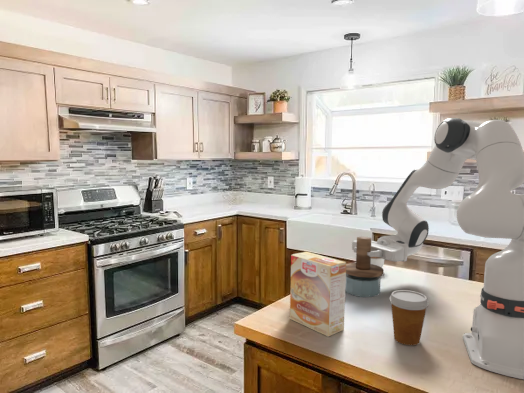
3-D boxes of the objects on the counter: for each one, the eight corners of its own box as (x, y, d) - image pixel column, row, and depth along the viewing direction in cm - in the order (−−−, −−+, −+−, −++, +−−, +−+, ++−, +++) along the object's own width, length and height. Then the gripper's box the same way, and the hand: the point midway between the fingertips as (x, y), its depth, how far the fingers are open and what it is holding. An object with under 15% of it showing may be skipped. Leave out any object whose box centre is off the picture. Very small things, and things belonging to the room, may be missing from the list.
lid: (385, 278, 130) (386, 243, 128) (342, 275, 133) (343, 241, 131) (381, 267, 143) (382, 235, 142) (343, 264, 146) (343, 233, 145)
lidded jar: (385, 275, 157) (386, 252, 156) (358, 273, 160) (359, 251, 159) (383, 268, 168) (383, 246, 167) (357, 266, 170) (358, 245, 169)
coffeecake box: (288, 319, 114) (290, 254, 112) (305, 313, 118) (307, 250, 116) (328, 337, 102) (330, 265, 100) (344, 330, 107) (347, 261, 105)
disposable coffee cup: (402, 351, 95) (405, 304, 94) (380, 334, 105) (382, 291, 103) (434, 346, 98) (437, 300, 97) (410, 329, 107) (412, 288, 106)
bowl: (374, 299, 130) (375, 283, 130) (340, 292, 136) (340, 277, 136) (383, 289, 141) (383, 274, 140) (350, 283, 147) (351, 269, 146)
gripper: (367, 234, 152) (341, 238, 145) (411, 244, 135) (384, 249, 128) (366, 250, 153) (340, 254, 146) (410, 262, 136) (384, 268, 129)
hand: (361, 252), depth 137 cm, fingers closed on lid, 5 cm apart
